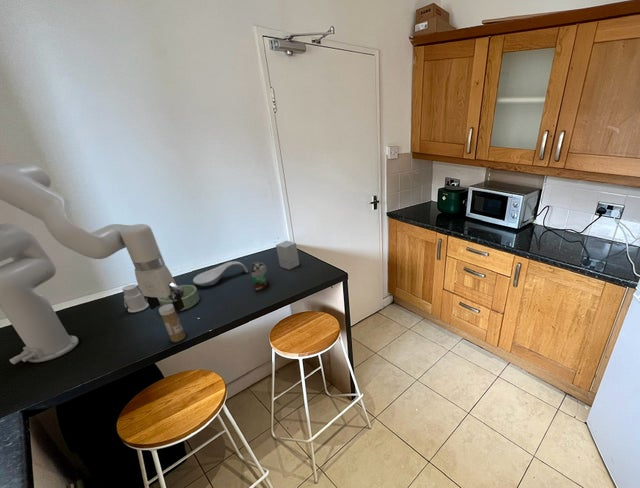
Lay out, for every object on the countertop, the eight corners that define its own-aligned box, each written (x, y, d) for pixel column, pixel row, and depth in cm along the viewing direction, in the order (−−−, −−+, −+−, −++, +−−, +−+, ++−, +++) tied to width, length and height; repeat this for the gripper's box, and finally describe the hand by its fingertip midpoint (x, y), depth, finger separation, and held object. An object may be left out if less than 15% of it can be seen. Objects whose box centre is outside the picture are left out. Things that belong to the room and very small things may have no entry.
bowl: (182, 314, 126) (178, 303, 123) (153, 311, 128) (149, 299, 126) (207, 297, 138) (203, 286, 135) (180, 294, 140) (176, 283, 138)
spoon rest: (199, 292, 142) (194, 278, 138) (191, 283, 149) (187, 270, 146) (251, 275, 157) (248, 262, 154) (242, 267, 164) (239, 255, 161)
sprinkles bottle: (186, 339, 112) (174, 308, 106) (170, 344, 110) (157, 312, 104) (185, 333, 115) (174, 302, 109) (170, 337, 113) (158, 306, 107)
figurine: (270, 290, 143) (266, 271, 139) (255, 292, 141) (251, 273, 137) (269, 278, 154) (265, 260, 149) (256, 280, 152) (251, 262, 147)
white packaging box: (300, 264, 168) (296, 242, 162) (288, 270, 162) (284, 247, 156) (290, 261, 171) (287, 240, 166) (279, 266, 165) (275, 244, 160)
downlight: (153, 302, 134) (144, 281, 130) (146, 311, 128) (137, 290, 124) (130, 305, 132) (121, 284, 127) (123, 314, 126) (113, 293, 121)
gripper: (115, 266, 97) (136, 312, 105) (162, 270, 95) (181, 317, 102) (137, 256, 104) (155, 300, 112) (182, 260, 101) (198, 304, 109)
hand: (167, 308), depth 107 cm, fingers open, 9 cm apart
